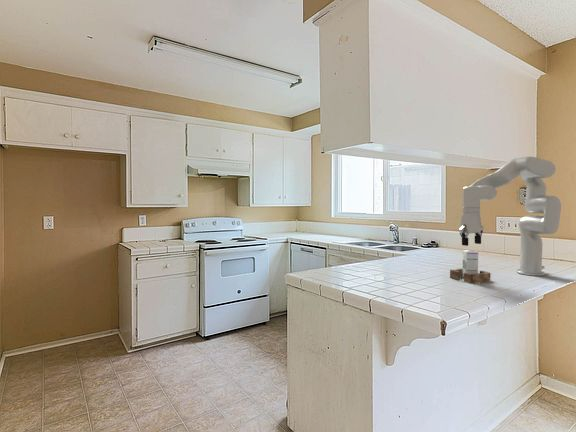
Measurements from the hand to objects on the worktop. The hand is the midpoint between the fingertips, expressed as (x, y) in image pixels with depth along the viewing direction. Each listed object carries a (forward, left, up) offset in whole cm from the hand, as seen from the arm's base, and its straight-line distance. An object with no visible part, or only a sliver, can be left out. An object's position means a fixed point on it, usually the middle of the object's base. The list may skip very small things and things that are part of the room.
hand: (471, 244), depth 166 cm
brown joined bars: (+1, 0, -18) cm, 18 cm away
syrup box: (+1, 0, -18) cm, 18 cm away
